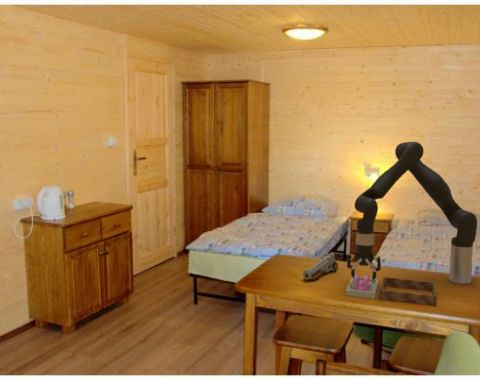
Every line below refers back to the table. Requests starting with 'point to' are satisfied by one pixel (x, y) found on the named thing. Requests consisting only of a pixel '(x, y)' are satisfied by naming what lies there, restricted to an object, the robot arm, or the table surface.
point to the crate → (406, 296)
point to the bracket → (361, 283)
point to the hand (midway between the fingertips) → (363, 278)
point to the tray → (366, 294)
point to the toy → (321, 267)
